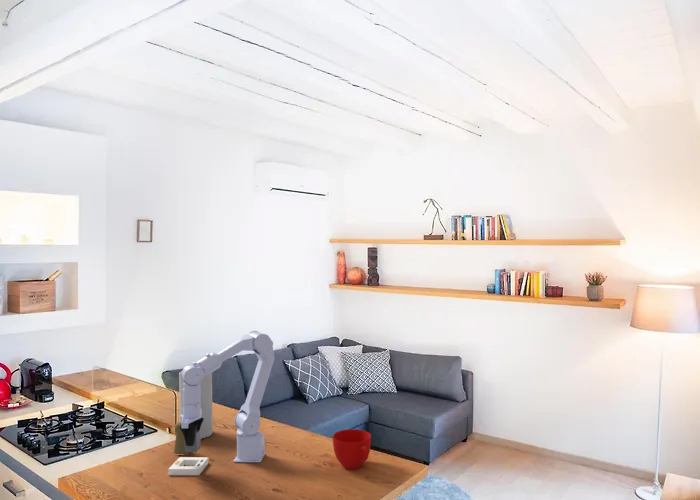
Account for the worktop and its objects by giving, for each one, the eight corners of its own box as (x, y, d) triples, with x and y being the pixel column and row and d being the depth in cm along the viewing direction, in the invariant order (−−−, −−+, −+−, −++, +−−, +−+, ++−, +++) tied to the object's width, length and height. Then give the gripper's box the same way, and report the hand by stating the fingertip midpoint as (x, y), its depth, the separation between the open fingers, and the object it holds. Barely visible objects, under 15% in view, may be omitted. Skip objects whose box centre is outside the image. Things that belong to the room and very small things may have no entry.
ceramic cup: (349, 480, 169) (348, 449, 169) (326, 462, 184) (326, 433, 184) (384, 472, 175) (384, 441, 175) (359, 455, 190) (359, 426, 190)
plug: (200, 447, 181) (200, 427, 181) (196, 452, 177) (196, 431, 177) (188, 447, 181) (188, 427, 181) (184, 452, 177) (184, 431, 177)
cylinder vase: (219, 433, 215) (218, 370, 215) (195, 443, 204) (194, 377, 204) (197, 428, 221) (197, 367, 221) (173, 437, 211) (172, 373, 211)
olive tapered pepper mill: (186, 456, 191) (185, 425, 191) (170, 455, 192) (170, 424, 192) (194, 450, 197) (193, 420, 197) (179, 448, 198) (178, 419, 198)
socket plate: (208, 463, 185) (208, 456, 185) (198, 475, 175) (198, 468, 175) (179, 462, 185) (179, 456, 185) (168, 475, 175) (168, 468, 175)
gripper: (187, 396, 186) (187, 435, 186) (171, 408, 172) (172, 451, 172) (207, 396, 186) (207, 435, 186) (193, 408, 172) (194, 451, 172)
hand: (192, 443), depth 179 cm, fingers closed on plug, 4 cm apart
